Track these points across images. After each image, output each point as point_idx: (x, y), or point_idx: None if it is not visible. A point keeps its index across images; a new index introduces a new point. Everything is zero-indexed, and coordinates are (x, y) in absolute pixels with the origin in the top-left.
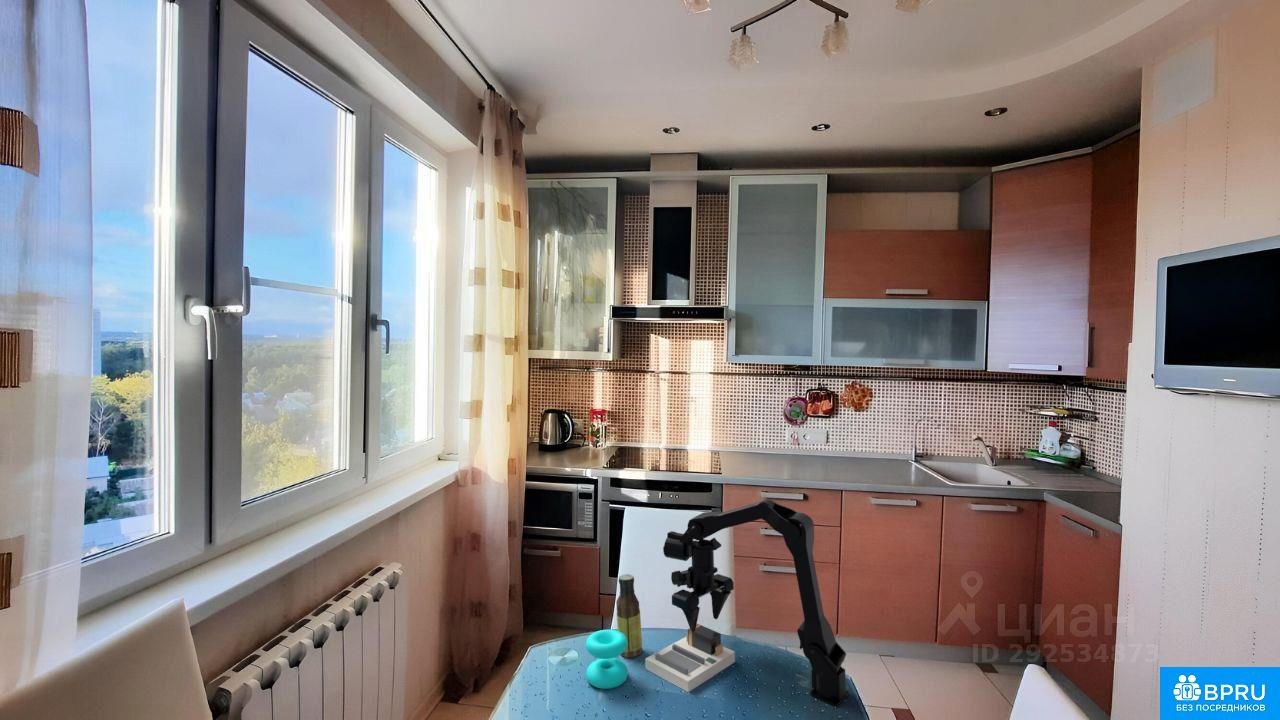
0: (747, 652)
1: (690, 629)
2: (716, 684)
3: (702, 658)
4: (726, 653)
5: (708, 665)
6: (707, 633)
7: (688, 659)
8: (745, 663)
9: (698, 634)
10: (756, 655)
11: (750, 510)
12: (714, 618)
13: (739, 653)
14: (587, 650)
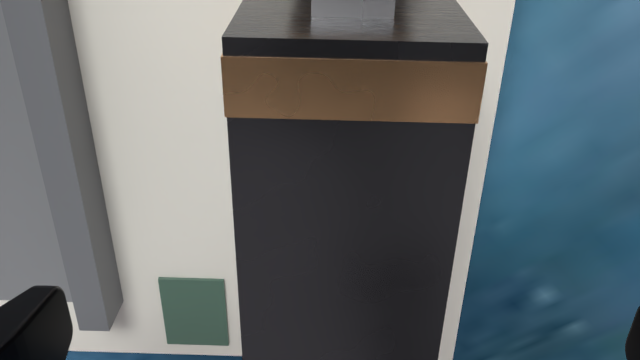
0: (622, 300)
1: (24, 292)
2: (123, 353)
3: (93, 320)
4: None
5: (129, 331)
6: (325, 304)
7: (37, 181)
8: (467, 355)
9: (236, 226)
10: (614, 356)
11: None
12: (637, 317)
13: (574, 269)
14: None
